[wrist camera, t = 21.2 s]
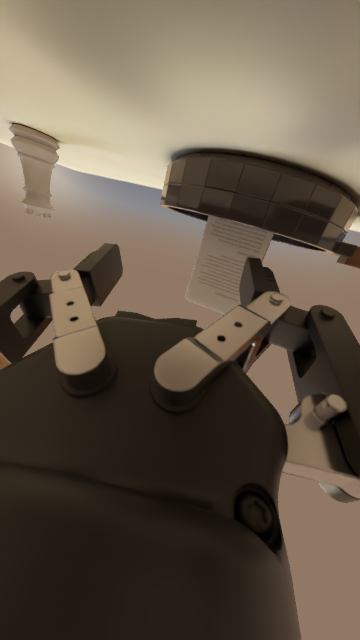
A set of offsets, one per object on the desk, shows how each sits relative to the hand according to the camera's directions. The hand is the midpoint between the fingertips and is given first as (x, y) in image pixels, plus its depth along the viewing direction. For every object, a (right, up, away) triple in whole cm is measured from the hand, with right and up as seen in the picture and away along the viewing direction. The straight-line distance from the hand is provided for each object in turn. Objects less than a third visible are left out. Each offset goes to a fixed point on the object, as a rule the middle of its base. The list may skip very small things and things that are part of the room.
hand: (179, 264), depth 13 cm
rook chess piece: (-15, +17, +9) cm, 24 cm away
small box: (+7, +8, +6) cm, 12 cm away
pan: (+7, +8, +6) cm, 12 cm away
